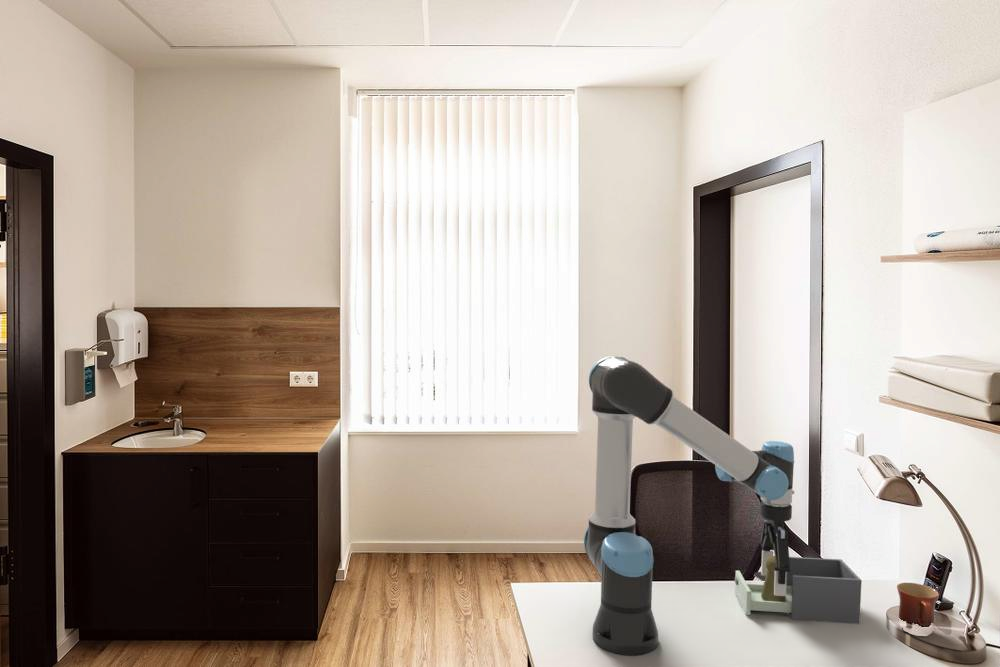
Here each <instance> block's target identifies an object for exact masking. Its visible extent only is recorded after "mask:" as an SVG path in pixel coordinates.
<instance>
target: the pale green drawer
mask: <svg viewBox="0 0 1000 667" xmlns="http://www.w3.org/2000/svg"><path fill="white" fill-rule="evenodd" d="M763 586H764V583H763V584H762V583H749V582H748V583H747V581H746V580H745V578H744V576H743V574H742V573H741V571H740V570H735V577H734V594H735V595H736V598H737V599H738V601H739V604H740V605H741V607H742V609H743V611H744V613H745V615H747V616H748V615H749V616H751V611H755V612H756V611H758V612H773V613H774V612H775V613H787V612H788V613H791V609H792V586H786V602H774V601H765V600H763V599H762V597H761V594H762V590H763ZM788 613H787V614H788Z"/></svg>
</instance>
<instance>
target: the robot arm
mask: <svg viewBox="0 0 1000 667" xmlns="http://www.w3.org/2000/svg"><path fill="white" fill-rule="evenodd" d="M588 385H589V389H590V392H591V393H592V401H591V404H592V407H591V411H592V412H593V413H594V414H595V415H596V417H597V437H596V438H597V439H596V441H597V442H596V443H597V444H596V468H595V471H596V473H595V504H594V506H595V507H594V511H593V512H592V513H591V514H590V515H589V516H588V527H587V528H586V529H585V531H584V537H583V546H584V551H585V553H586V554H585V555H587V558H588V560H589V561H590V562H591V563H592V565H593V566H594V567H595V569H596V571H597V573H598V574H599V575H600V580H601V581H600V583H601V584H600V605H599V608H598V611H597V613H596V616H595V619H594V621H593V624H592V639H593V641H594V643H595V644H596V645H597V646H599V647H600V648H602V649H603V650H606V651H608V652H611V653H615V654H619V655H627V656H636V655H644V654H647V653H650V652H652V651H654V650H656V648H657V647H658V645H659V631H658V630H659V629H658V628H657V624H656V621H655V616H654V613H653V610H652V600H653V599H652V597H653V596H652V595H653V594H652V593H653V568H654V566H653V565H654V562H655V560H654V555H653V553H654V552H653V547H652V545H651V544H650V542H649V541H648V540H647V539H646V538H645V537H643V536H641V535H640V536H639V535H637V533H636V518H634V517H633V515H631V513H630V512H631V511H630V510H631V482H632V481H631V480H632V459H633V458H632V453H633V452H632V451H633V429H634V428H633V426H634V425H633V424H634V418H638V419H639V420H641V421H643V423H646V424H647V425H656V426H658V427H659V428H661V429H662V430H663V431H665V432H666V433H667V434H669V435H671V436H672V437H674V438H675V439H677V440H678V441H680V442H681V443H683V444H684V445H686V446H687V447H688V448H690V449H691V450H693V451H694V452H696V453H697V454H699V455H701V456H702V457H703V458H705V459H706V460H708V461H709V462H710V463H712V464H713V465H714V469H715V473H716V476H717V478H718V479H719V480H720V481H723V482H730V483H732V482H738V483H739V484H741V485H743V487H745V488H747V489H750V490H751V491H752V492H754V493H756V494H757V495H758V496H760V500H761V502H760V510H759V511H760V512H759V514H760V517H761V518H763V522H762V528H761V533H760V539H759V544H760V546H761V567H760V568H761V571H760V572H761V575H763V576H766V573H767V568H766V560H767V558H768V557H770V556H775V562H776V568H774V569H773V570H774V571H775V577H774V595H775V596H786V581H787V572H790V562H789V557H790V552H789V531H788V529H786V527H785V526H784V523H785V522H788V521H791V519H792V516H793V513H792V512H793V511H792V510H793V505H792V503H793V495H794V494H795V490H793V487H794V486H793V485H794V484H793V483H794V469H795V468H794V464H795V455H794V454H795V452H794V446H792V444H791V443H787V442H784V441H778V440H776V441H775V440H770V441H765V442H764V443H763V444H762V447H761V449H760V450H751V449H749V448H748V447H747V446H745V445H744V444H742V443H740V441H738V440H736V439H735V438H734V437H733V436H730V434H728V433H727V432H725V431H723V430H722V429H721V428H719V427H717V426H716V425H715V424H713V423H712V422H710V421H709V420H708V419H707V418H705V417H703V416H702V415H701V414H699V413H698V412H696V411H695V410H693V409H692V408H690V407H689V406H687V405H686V404H684V403H683V402H682V401H680V400H678V398H676V397H675V394H674V391H673V390H672V389H671V388H670V387H668V386H666V385H665V384H664V383H663V382H661V381H660V380H659V379H657V378H656V377H655V376H654V375H653V374H652V373H651V372H650V371H649V370H647V369H646V368H645V367H643V366H642V365H641V364H639V363H638V362H635V361H632V360H629V359H627V358H626V357H623V356H615V355H614V356H612V355H611V356H606V357H604V358H601V359H599V360H598V361H597V362H596V363H595V364H594V365H593V366H592V368H591V369H590V372H589V376H588Z"/></svg>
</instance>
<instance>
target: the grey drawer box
mask: <svg viewBox="0 0 1000 667" xmlns="http://www.w3.org/2000/svg"><path fill="white" fill-rule="evenodd" d="M789 562H790V572H787V581H786V586H792V609H791V613H788V612H786V613H787V614H788V616H789V617H790V619H791V620H792V621H806V622H823V623H836V624H837V623H841V624H857V625H860V623H861V621H860V620H861V618H860V617H861V600H862V598H861V597H862V579H861V578H860V577H859V576H858V574H856V573H855V572H854V571H853V570H852V569H851V568H850V567H849V566H848V565H847V564H846V562H844V561H843V559H839V558H838V559H837V558H821V557H820V558H819V557H802V556H801V557H799V556H789Z"/></svg>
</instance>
